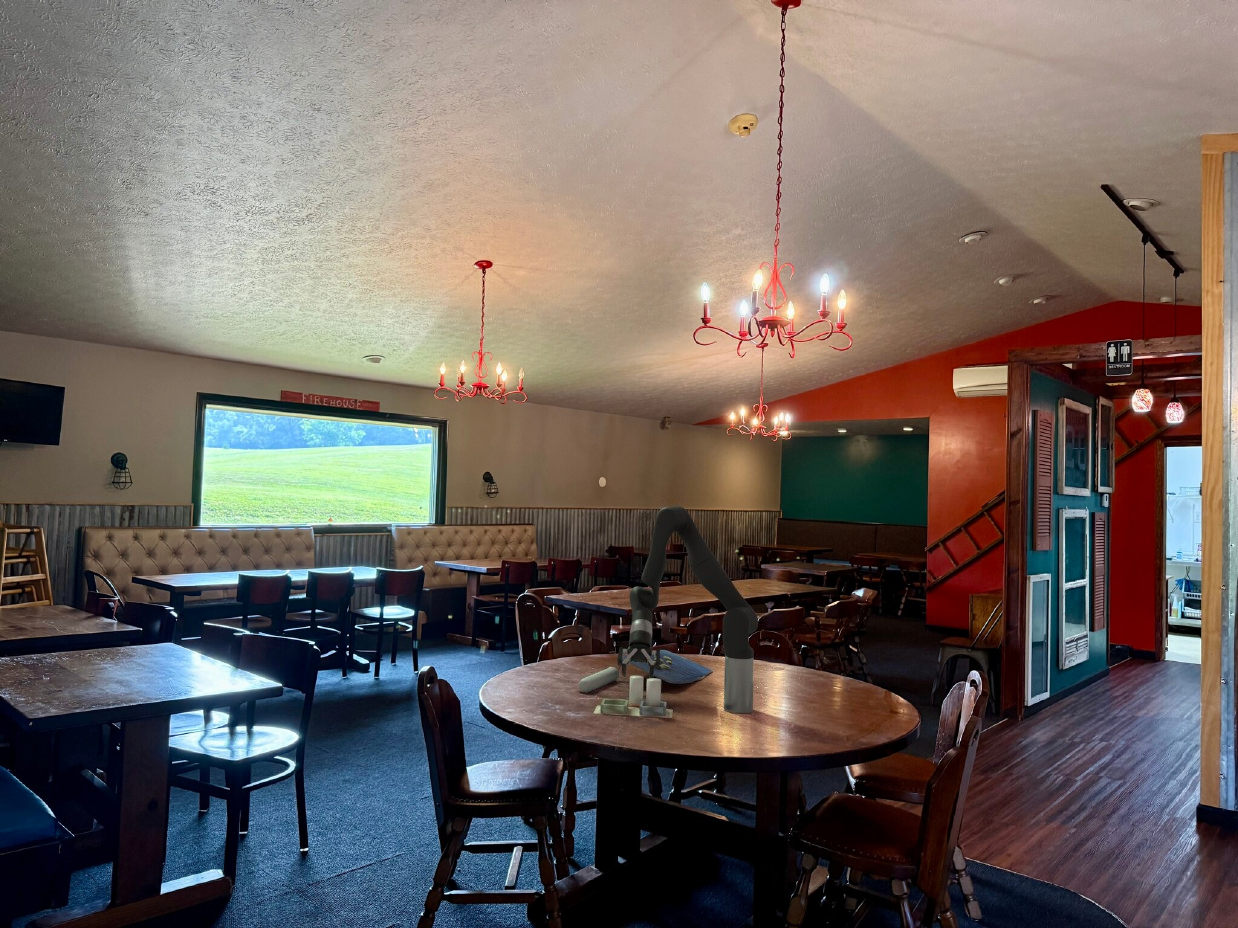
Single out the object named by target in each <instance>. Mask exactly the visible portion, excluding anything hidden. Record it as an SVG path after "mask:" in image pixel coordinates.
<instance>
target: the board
mask: <svg viewBox="0 0 1238 928" xmlns="http://www.w3.org/2000/svg"><path fill="white" fill-rule="evenodd" d="M660 706H661V707H647V706H646V700H643V701H641V703H640V706H639V707H632V706H631V707H630V706H629V699H619V698H603V699H602V701H601V703H600V705H596V707H595V709H594V711H593V714H594V715H595V714H597V715H599V714H600V715H612V716H613V715H614V716H615V715H616V716H633V717H648V718H650V717H651V718H667V719H672V718H673V711H674V710H673V709H668V708H667V701H660Z"/></svg>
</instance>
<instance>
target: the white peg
mask: <svg viewBox="0 0 1238 928" xmlns="http://www.w3.org/2000/svg"><path fill="white" fill-rule="evenodd" d="M628 691H629V692H628V693H629V695H628V697H629V698H628V700H629V701H628V705H631V706H636V707H637V706H638V707H640V703H641V701H644V676H642V675H630V676H629V690H628Z"/></svg>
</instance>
